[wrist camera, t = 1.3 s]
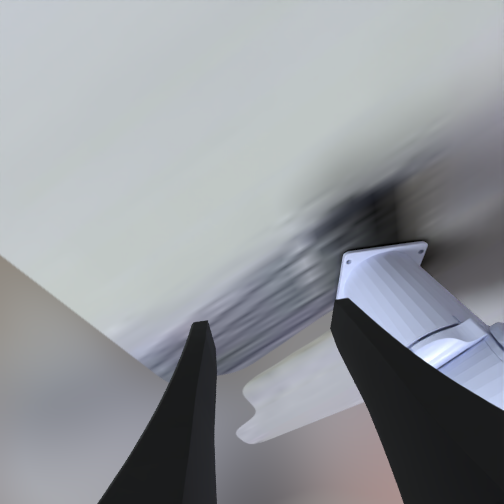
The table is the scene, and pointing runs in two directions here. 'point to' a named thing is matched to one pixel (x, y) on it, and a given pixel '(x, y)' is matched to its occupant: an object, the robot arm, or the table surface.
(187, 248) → the table surface
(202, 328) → the robot arm
